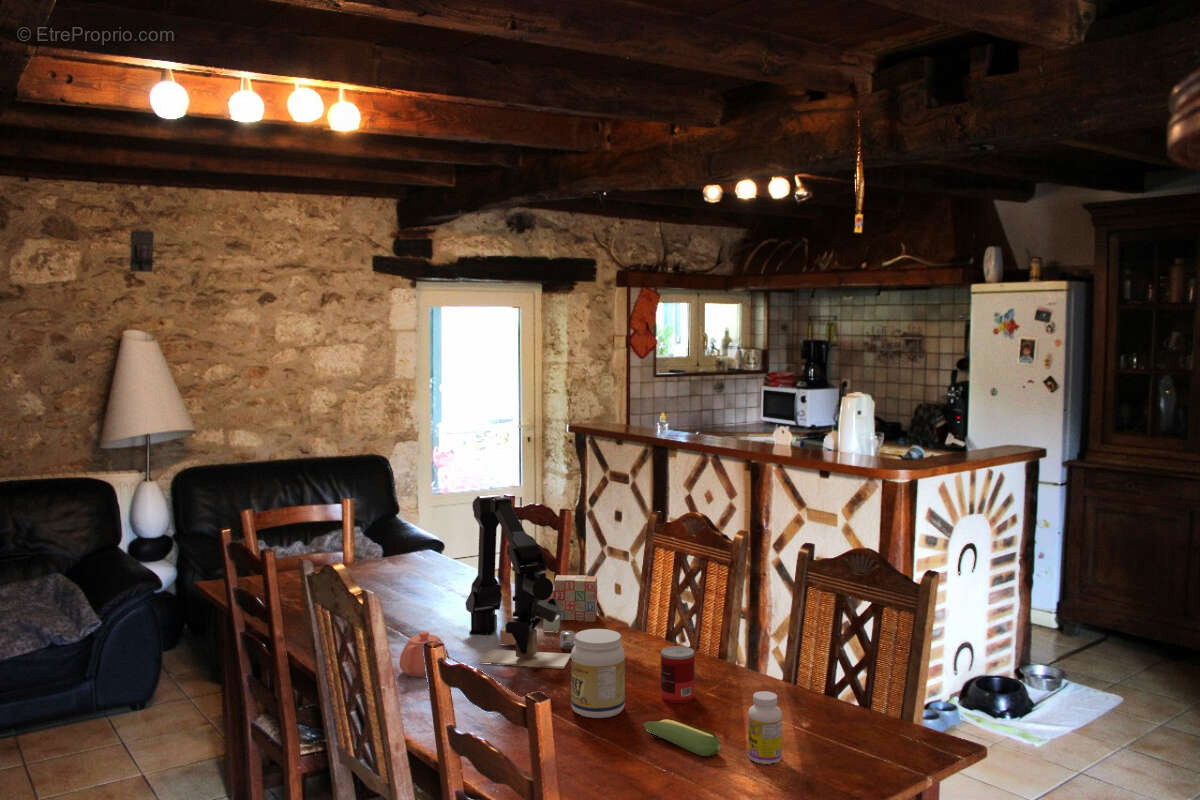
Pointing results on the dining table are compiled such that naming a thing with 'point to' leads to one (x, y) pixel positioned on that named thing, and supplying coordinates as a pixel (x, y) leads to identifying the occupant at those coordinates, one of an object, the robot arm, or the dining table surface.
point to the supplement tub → (597, 673)
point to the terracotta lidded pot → (416, 654)
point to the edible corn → (685, 736)
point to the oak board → (527, 659)
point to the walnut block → (529, 646)
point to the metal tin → (567, 639)
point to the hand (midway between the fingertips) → (526, 650)
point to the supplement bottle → (765, 729)
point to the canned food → (677, 674)
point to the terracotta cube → (506, 637)
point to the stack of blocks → (575, 597)
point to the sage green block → (552, 624)
